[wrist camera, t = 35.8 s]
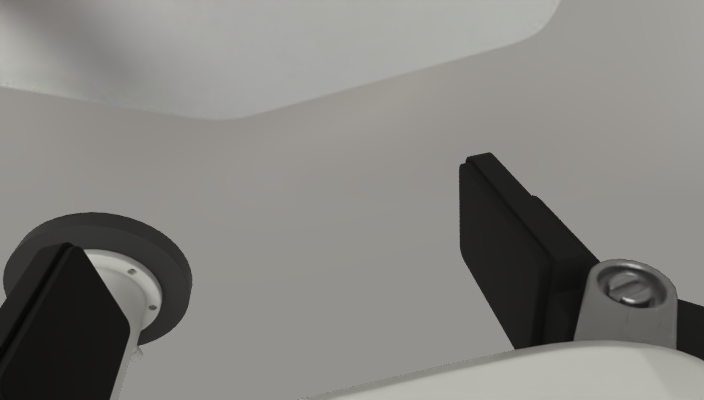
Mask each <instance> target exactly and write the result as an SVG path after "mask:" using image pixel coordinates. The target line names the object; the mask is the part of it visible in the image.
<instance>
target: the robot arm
mask: <svg viewBox="0 0 704 400" xmlns="http://www.w3.org/2000/svg"><path fill="white" fill-rule="evenodd" d="M459 196H460V197H459V199H460V250H461V254H462V257H463V259H464V261H465V263H466V265H467V266H468V268H469V269H470V272H471V273H472V275H473V277H474V279H475V280H476V282H477V284H478V286H479V287H480V289H481V291H482V293H483V294H484V296H485V298H486V300H487V301H488V303H489V305H490V307H491V308H492V310H493V312H494V314H495V315H496V317H497V319H498V321H499V322H500V324H501V326H502V327H503V329H504V331H505V333H506V335H507V336H508V338H509V340H510V342H511V343H512V345H513V347H514V349H515V350H512V351H508V352H503V353H499V354H494V355H489V356H485V357H480V358H476V359H471V360H466V361H462V362H457V363H452V364H448V365H443V366H439V367H435V368H430V369H426V370H422V371H418V372H413V373H409V374H405V375H400V376H396V377H392V378H388V379H384V380H379V381H375V382H371V383H366V384H362V385H358V386H353V387H349V388H345V389H341V390H336V391H332V392H328V393H324V394H320V395H315V396H311V397H307V398H303V399H298V400H704V307H703V306H700V305H696V304H693V303H690V302H686V301H683V300H680V299H677V292H676V288H675V286H674V285H673V283H672V282H671V281H670V279H669V278H668V277H666V276H665V275H664V274H663V273H661V272H660V271H658V270H657V269H655V268H653V267H651V266H649V265H647V264H643V263H640V262H637V261H633V260H626V259H612V260H606V261H603V262H600V261H599V260H598V259H597V258H596V257H595V256H594V255H593V254H592V253H591V252H590V251H589V250H588V249H587V248H586V247H585V245H584V244H583V243H582V242H581V241H580V240H579V239H578V238H577V237H576V236H575V235H574V234H573V233H572V232H571V231H570V230H569V229H568V228H567V227H566V226H565V225H564V224H563V222H562V221H561V220H559V218H558V217H557V216H556V215H555V214H554V213H553V212H552V211H551V210H550V209H549V208H548V207H547V206H546V205H545V204H544V203H543V201H542V200H540V199H539V198H538V197H537V196H533V195H532V196H531V195H530V194H529V192H528V191H527V190H526V189H525V188H524V187H523V186H522V185H521V184H520V183H519V182H518V181H517V180H516V179H515V178H514V176H512V174H511V173H510V172H509V171H508V170H507V169H506V168H505V167H504V166H503V165H502V164H501V163H500V161H499V160H498V159H497V158H496V157H495V156H494V155H493V154H492V153H484V154H479V155H474V156H470V157H467V159H466V163H464V164H461V165H460V167H459ZM161 303H162V290H161V286H160V284H159V282H158V280H157V278H156V277H155V276H154V275H153V273H152V272H151V271H150V270H149V269H147V268H146V267H145V266H144V265H142V264H141V263H139V262H138V261H136V260H134V259H132V258H130V257H128V256H125V255H122V254H120V253H116V252H111V251H107V250H97V249H85V250H83V249H82V248H81V247H80V246H74V245H73V244H72V243H70V242H64V243H60V244H55V245H50V246H46V247H42V248H40V249H39V250H38V251H37V253H36V254H35V256H34V257H33V259H32V260H31V262H30V264H29V265H28V267H27V268H26V270H25V271H24V273H23V274H22V276H21V277H20V279H19V280H18V282H17V283H16V285H15V286H14V288H13V289H12V291H11V292H10V294H9V295H8V297H7V299H6V300H5V302H4V303H3V305H2V306H1V308H0V400H118V398H119V394H120V391H121V387H122V384H123V381H124V377H125V374H126V370H127V367H128V364H129V360H130V359H131V361H133V362H136V361H138V360H140V359H141V358H142V356H143V353H142V351H141V349H140V348H139V346H137V342H138V338H139V335H140V332H141V330H143V329H145V328H146V327H147V326H149V325H150V324H151V323H152V322H153V321H154V319H155V318H156V317H157V315H158V313H159V311H160V307H161Z"/></svg>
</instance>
